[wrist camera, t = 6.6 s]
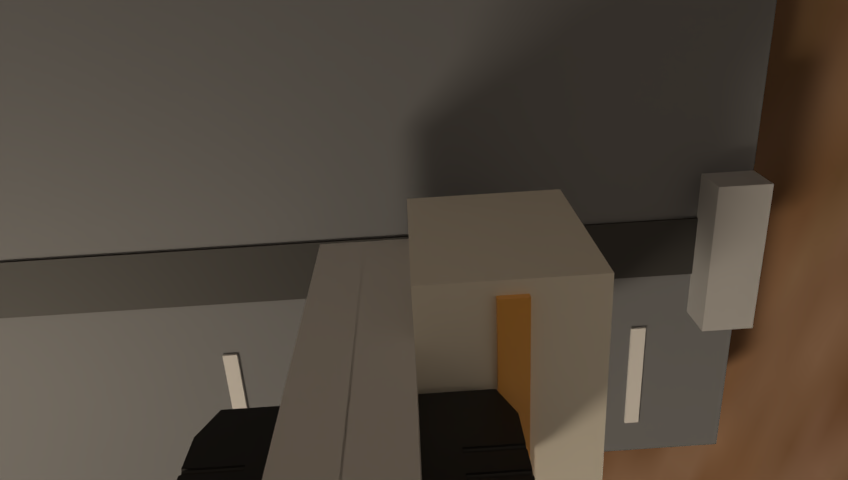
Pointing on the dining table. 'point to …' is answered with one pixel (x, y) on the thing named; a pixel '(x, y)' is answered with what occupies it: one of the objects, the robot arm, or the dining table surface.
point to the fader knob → (516, 317)
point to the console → (350, 193)
